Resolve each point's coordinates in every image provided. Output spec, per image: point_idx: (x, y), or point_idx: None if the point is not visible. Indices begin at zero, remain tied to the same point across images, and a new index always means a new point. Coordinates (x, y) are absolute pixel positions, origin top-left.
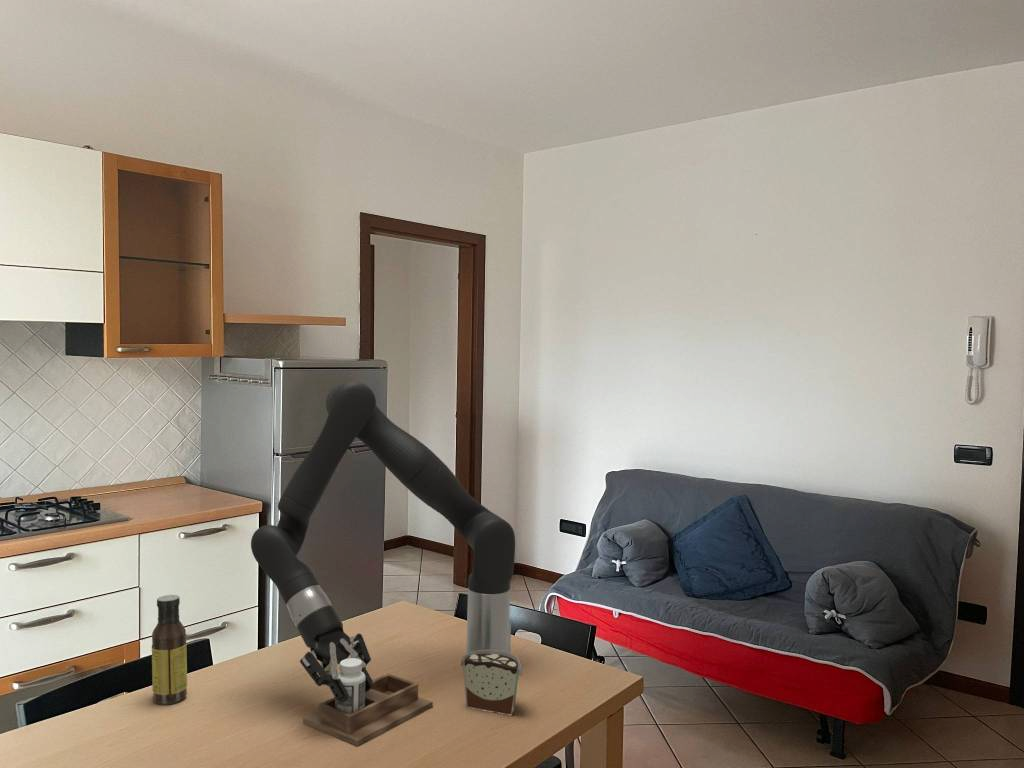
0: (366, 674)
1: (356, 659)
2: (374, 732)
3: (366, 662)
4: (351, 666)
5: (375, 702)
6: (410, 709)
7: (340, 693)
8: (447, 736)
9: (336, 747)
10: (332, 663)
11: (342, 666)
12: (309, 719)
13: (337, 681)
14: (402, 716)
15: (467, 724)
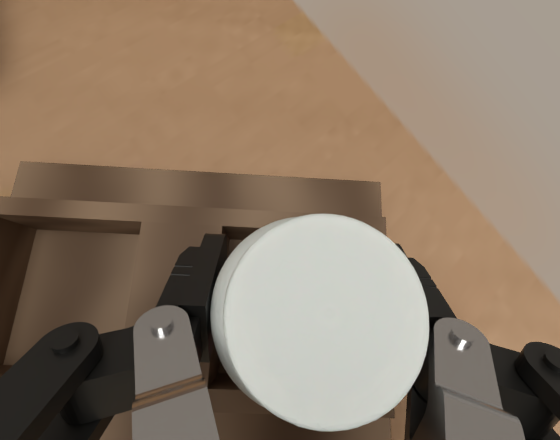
0: (196, 274)
1: (249, 315)
2: (307, 178)
3: (101, 341)
4: (390, 241)
5: (230, 221)
6: (113, 184)
7: (418, 270)
8: (184, 39)
9: (416, 232)
10: (508, 422)
11: (427, 323)
12: (384, 433)
13: (436, 310)
14: (173, 173)
15: (94, 33)
